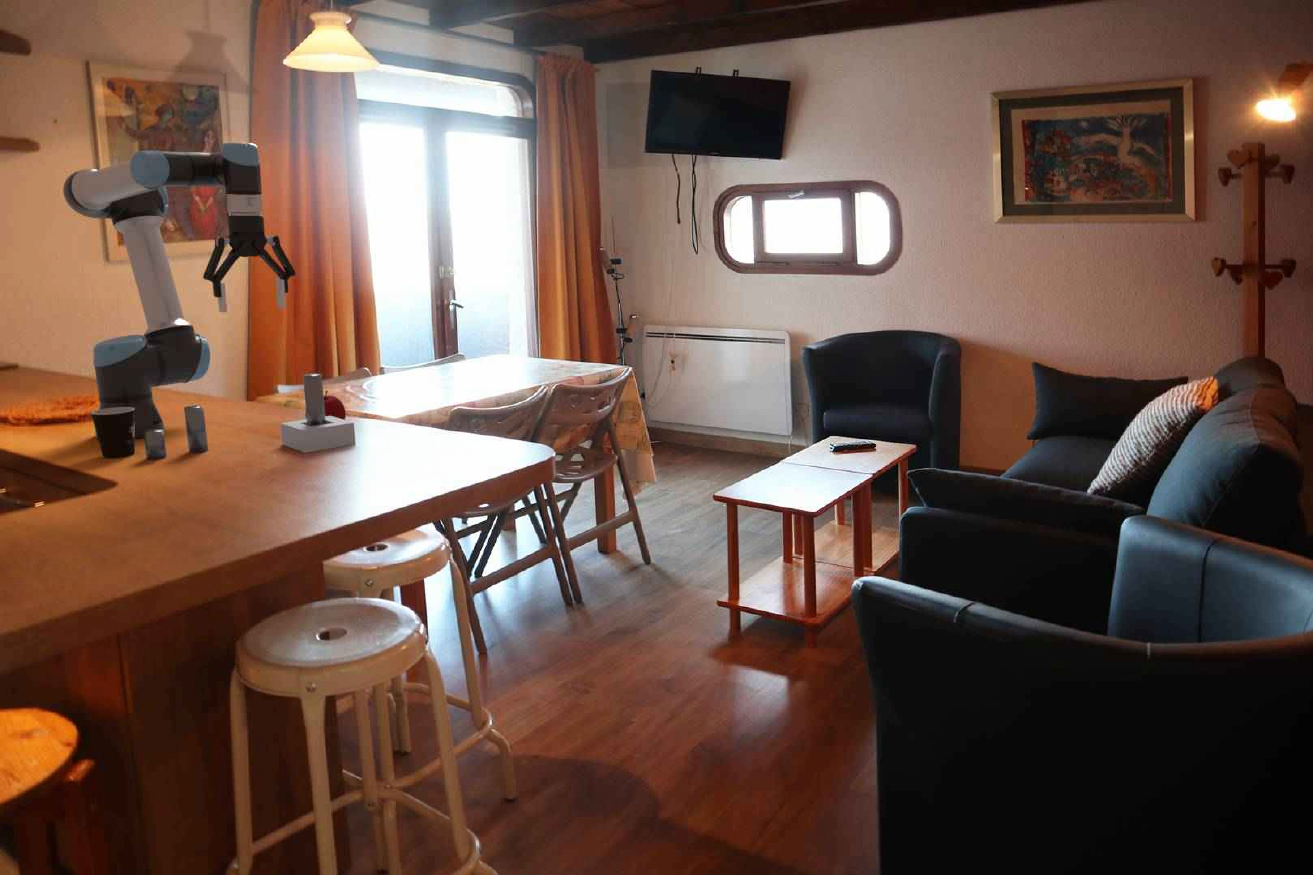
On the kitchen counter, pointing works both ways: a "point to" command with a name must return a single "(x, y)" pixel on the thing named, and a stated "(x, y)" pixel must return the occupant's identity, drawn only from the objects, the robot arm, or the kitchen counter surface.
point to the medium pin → (196, 429)
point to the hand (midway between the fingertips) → (253, 310)
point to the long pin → (314, 399)
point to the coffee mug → (115, 431)
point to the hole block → (318, 434)
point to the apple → (333, 407)
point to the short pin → (155, 444)
